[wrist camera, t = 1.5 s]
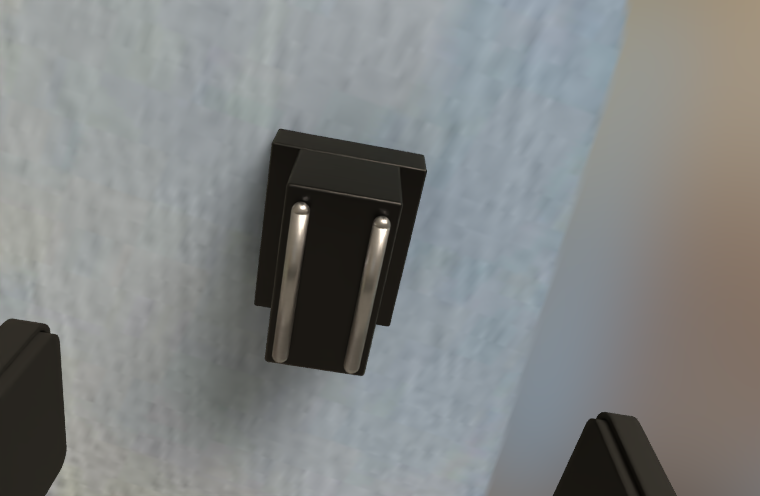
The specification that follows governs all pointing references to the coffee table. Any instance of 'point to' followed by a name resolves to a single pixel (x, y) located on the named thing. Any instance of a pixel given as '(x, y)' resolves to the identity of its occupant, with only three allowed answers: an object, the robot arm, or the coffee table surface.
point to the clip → (333, 247)
